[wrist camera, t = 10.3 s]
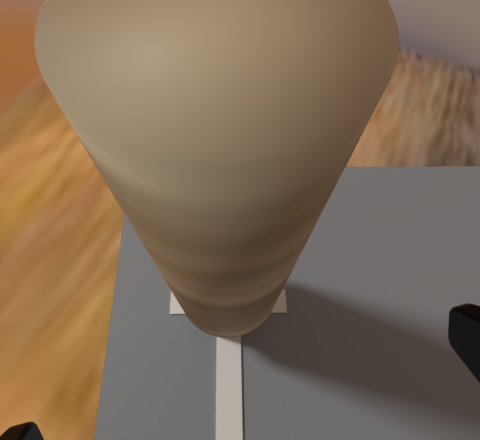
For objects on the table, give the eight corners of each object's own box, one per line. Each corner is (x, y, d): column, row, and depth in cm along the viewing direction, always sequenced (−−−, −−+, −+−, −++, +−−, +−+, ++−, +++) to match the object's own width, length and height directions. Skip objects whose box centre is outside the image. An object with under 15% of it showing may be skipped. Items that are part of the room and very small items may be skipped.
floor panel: (995, 919, 10) (1099, 991, 9) (35, 984, 9) (6, 1074, 8) (597, 177, 20) (620, 164, 19) (136, 180, 19) (130, 166, 18)
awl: (286, 315, 15) (477, 58, 3) (213, 363, 14) (130, 242, 2) (241, 248, 16) (266, -107, 5) (172, 288, 15) (-12, -25, 4)
